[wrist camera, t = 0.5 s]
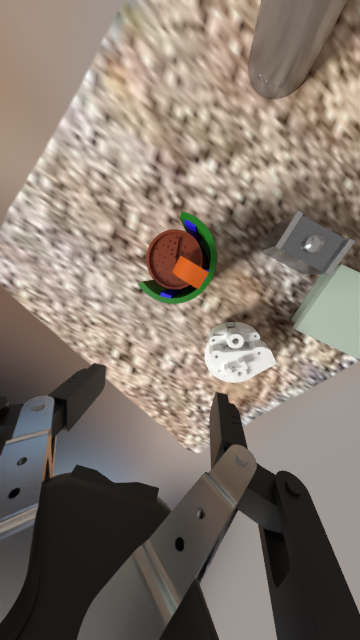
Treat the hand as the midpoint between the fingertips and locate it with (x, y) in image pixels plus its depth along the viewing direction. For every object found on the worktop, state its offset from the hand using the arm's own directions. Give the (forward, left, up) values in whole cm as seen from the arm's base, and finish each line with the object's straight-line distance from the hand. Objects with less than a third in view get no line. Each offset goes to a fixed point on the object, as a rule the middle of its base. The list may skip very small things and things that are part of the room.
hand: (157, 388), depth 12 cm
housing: (-18, +12, -27) cm, 34 cm away
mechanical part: (+3, +11, -27) cm, 29 cm away
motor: (-8, -4, -27) cm, 28 cm away
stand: (-12, +24, -26) cm, 38 cm away
